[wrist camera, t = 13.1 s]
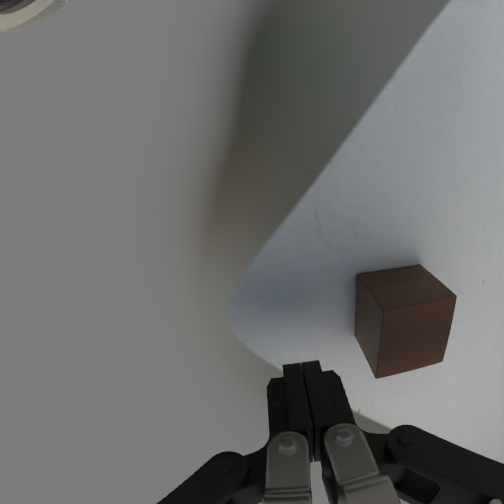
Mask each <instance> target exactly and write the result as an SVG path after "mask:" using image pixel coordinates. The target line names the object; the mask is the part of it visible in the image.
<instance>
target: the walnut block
mask: <svg viewBox="0 0 504 504" xmlns="http://www.w3.org/2000/svg"><path fill="white" fill-rule="evenodd" d="M456 298H457V296H456V295H455V294H454V293H453V292H452V291H451V290H449V289H448V288H447V287H446V286H445V285H444V284H443V283H441V282H440V281H439V280H438V279H437V278H436V277H434V276H433V275H432V274H431V273H430V272H429V271H427V270H426V269H425V268H424V267H423V266H421V265H416V266H409V267H403V268H396V269H390V270H383V271H376V272H370V273H363V274H357V288H356V321H355V337H356V339H357V341H358V343H359V345H360V347H361V349H362V351H363V353H364V355H365V357H366V359H367V361H368V363H369V366H370V368H371V370H372V372H373V374H374V376H375V378H376V379H377V378H382V377H386V376H391V375H395V374H399V373H403V372H407V371H411V370H414V369H418V368H422V367H425V366H429V365H433V364H436V363H439V362H442V361H443V358H444V354H445V350H446V346H447V342H448V338H449V333H450V329H451V324H452V319H453V314H454V309H455V304H456Z"/></svg>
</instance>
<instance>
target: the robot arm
mask: <svg viewBox="0 0 504 504" xmlns="http://www.w3.org/2000/svg"><path fill="white" fill-rule="evenodd" d="M34 1H35V0H0V14H9V13H12V12H15V11H18V10H20V9H22V8H24V7H26V6H27V5H29V4H31V3H32V2H34ZM283 374H284V377H280V378H271V380H270V382H269V384H268V386H267V398H268V415H269V433H270V434H269V440H268V442H267V443H266V445H265V446H264V447H263V448H261V449H260V450H258V451H256V452H254V453H251V454H248V455H245V456H242V455H240V454H239V453H236V452H229V451H227V452H221V453H219V454H216V455H215V456H213V457H212V458H211V459H210V460H209V461H207V462H206V463H205V464H204V465H203V466H202V467H201V468H199V469H198V470H197V471H196V472H195V473H194V474H193V475H191V476H190V477H189V478H188V479H187V480H185V481H184V482H183V483H182V484H181V485H179V486H178V487H177V488H176V489H175V490H174V491H172V492H171V493H170V494H168V495H167V496H166V497H165V498H163V499H162V500H161V501H160V502H158V503H157V504H258V503H261V502H262V504H312V492H311V481H310V462H313V457H314V462H316V461H321V466H322V480H323V483H324V487H325V490H326V493H327V497H328V501H329V504H401V502H400V500H399V498H400V499H402V500H404V501H406V502H408V503H410V504H504V464H502V463H500V462H497V461H495V460H492V459H489V458H487V457H484V456H482V455H479V454H477V453H474V452H472V451H470V450H467V449H465V448H462V447H460V446H458V445H455V444H453V443H451V442H448V441H446V440H444V439H442V438H439V437H437V436H435V435H433V434H430V433H428V432H426V431H424V430H422V429H420V428H417V427H415V426H412V425H401V426H398V427H396V428H394V429H393V430H391V432H390V433H389V434H374V433H368V432H365V431H363V430H362V429H360V428H359V427H358V426H357V424H356V423H355V420H354V417H353V414H352V411H351V408H350V405H349V402H348V399H347V396H346V393H345V390H344V388H343V384H342V381H341V378H340V377H339V376H338V375H337V374H336V373H335V372H334V371H333V370H329V371H323V372H322V369H321V366H320V362H319V360H316V361H309V362H301V364H300V363H294V364H287V365H283Z"/></svg>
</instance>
